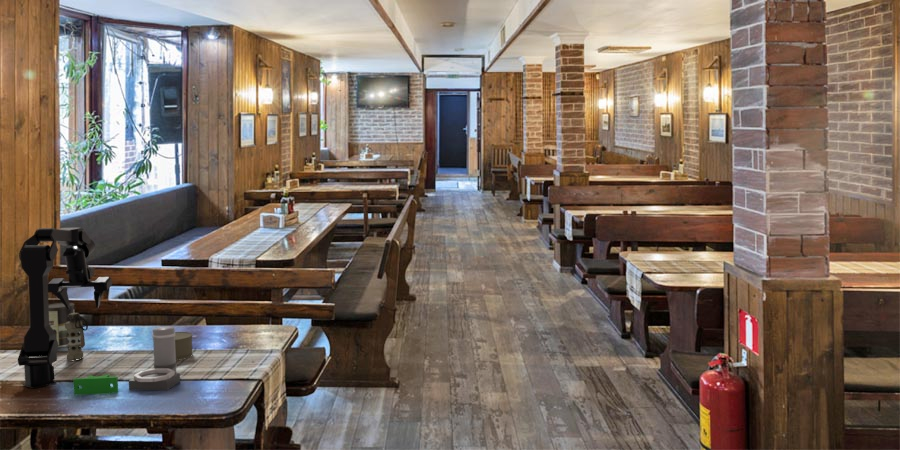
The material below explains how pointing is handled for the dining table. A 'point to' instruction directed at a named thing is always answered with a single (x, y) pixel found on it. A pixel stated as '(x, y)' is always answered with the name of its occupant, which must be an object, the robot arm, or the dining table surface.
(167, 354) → the lens
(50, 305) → the coffee can
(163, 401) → the dining table surface
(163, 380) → the octagonal tray on plate
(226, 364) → the dining table surface
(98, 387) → the pipe clamp
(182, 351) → the can
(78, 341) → the grenade model
